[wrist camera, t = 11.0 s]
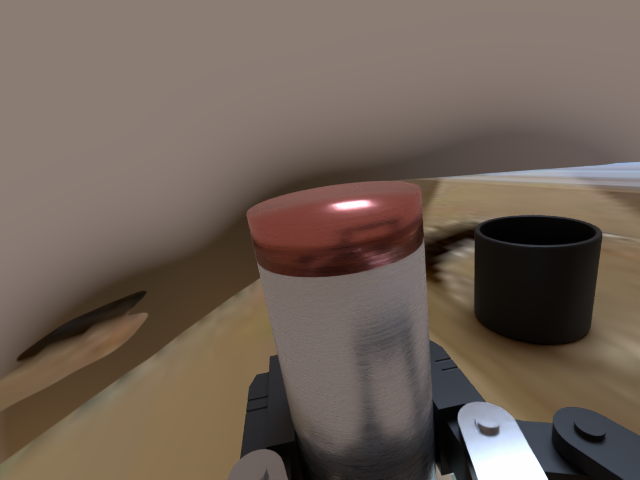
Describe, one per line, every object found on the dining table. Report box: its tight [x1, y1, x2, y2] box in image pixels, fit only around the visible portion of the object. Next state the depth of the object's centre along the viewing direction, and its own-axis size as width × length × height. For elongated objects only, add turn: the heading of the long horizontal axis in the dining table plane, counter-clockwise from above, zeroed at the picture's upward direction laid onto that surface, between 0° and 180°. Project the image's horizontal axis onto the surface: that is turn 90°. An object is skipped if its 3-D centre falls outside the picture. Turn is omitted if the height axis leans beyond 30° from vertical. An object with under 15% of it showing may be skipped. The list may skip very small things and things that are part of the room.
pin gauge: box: [247, 181, 437, 480], centre depth 9 cm, size 4×4×15 cm
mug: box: [474, 215, 602, 344], centre depth 31 cm, size 9×12×9 cm
